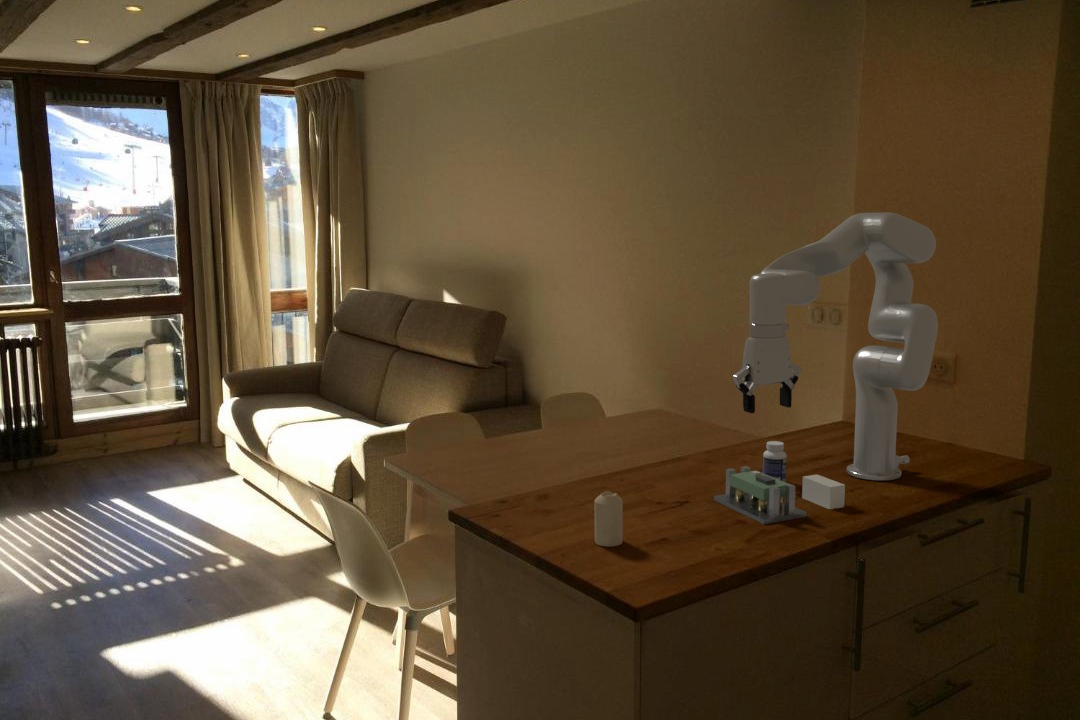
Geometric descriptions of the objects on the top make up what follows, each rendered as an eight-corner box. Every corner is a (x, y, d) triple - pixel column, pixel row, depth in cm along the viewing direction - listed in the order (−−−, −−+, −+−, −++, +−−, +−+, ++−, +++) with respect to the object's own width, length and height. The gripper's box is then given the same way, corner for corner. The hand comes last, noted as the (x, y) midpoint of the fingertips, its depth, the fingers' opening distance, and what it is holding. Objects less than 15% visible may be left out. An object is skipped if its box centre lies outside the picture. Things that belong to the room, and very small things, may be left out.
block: (816, 495, 204) (816, 474, 203) (844, 506, 196) (844, 484, 195) (802, 498, 203) (802, 476, 202) (829, 509, 194) (830, 487, 194)
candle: (592, 537, 180) (592, 489, 178) (620, 536, 180) (620, 488, 179) (596, 547, 174) (596, 498, 173) (624, 546, 175) (624, 496, 173)
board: (755, 481, 202) (756, 467, 202) (790, 495, 192) (790, 480, 191) (729, 485, 200) (730, 470, 199) (763, 500, 189) (763, 485, 188)
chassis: (754, 493, 207) (754, 464, 205) (806, 516, 190) (807, 484, 189) (713, 500, 202) (714, 470, 201) (763, 524, 186) (764, 491, 185)
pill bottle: (786, 486, 212) (787, 446, 210) (763, 485, 213) (764, 445, 211) (785, 479, 217) (786, 440, 215) (762, 479, 218) (763, 439, 216)
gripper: (788, 325, 199) (788, 401, 202) (723, 333, 193) (724, 411, 196) (811, 329, 193) (810, 407, 196) (745, 337, 186) (745, 418, 189)
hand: (767, 409), depth 196 cm, fingers open, 9 cm apart
